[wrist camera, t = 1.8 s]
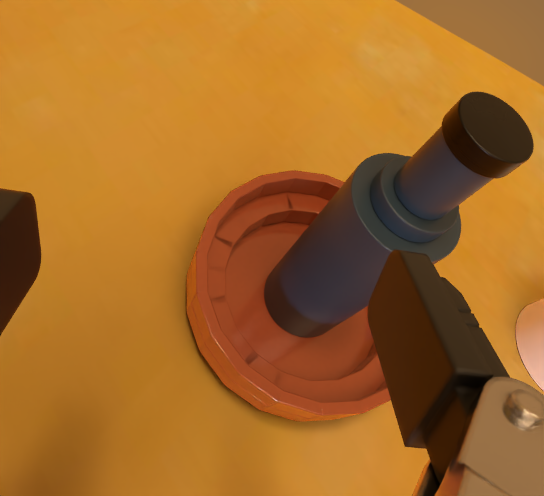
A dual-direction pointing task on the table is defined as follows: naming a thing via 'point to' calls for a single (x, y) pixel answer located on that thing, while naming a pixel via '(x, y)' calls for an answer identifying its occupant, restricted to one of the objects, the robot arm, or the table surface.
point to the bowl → (256, 318)
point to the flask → (393, 214)
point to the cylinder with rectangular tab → (532, 340)
